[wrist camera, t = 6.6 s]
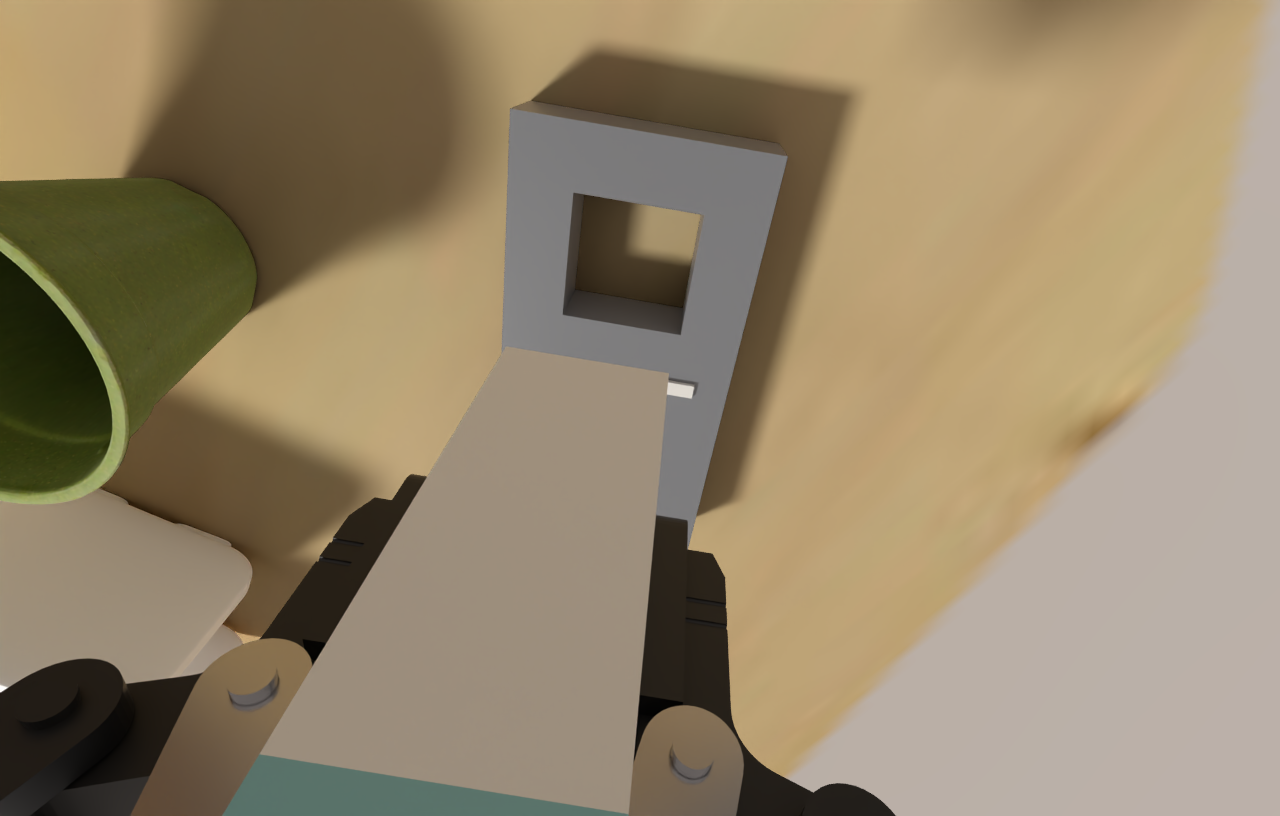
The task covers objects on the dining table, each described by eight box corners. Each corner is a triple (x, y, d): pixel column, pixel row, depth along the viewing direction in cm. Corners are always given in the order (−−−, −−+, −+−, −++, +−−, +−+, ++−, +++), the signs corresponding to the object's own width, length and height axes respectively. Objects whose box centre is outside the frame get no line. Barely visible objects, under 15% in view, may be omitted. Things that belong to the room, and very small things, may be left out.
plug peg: (506, 346, 14) (204, 847, 5) (668, 373, 14) (618, 914, 5) (501, 475, 16) (273, 994, 7) (645, 498, 16) (581, 1044, 7)
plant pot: (357, 266, 29) (187, 382, 19) (234, 405, 34) (48, 553, 24) (116, 47, 25) (-247, 57, 16) (15, 239, 30) (-311, 337, 20)
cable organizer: (285, 557, 40) (146, 733, 30) (256, 648, 45) (129, 824, 35) (37, 454, 37) (-207, 610, 27) (36, 564, 42) (-170, 728, 32)
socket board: (530, 100, 25) (508, 109, 22) (779, 143, 25) (788, 157, 22) (510, 491, 35) (494, 530, 32) (686, 521, 35) (684, 562, 33)
